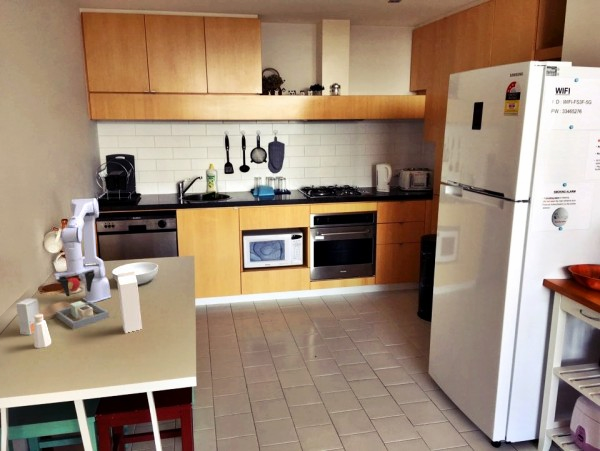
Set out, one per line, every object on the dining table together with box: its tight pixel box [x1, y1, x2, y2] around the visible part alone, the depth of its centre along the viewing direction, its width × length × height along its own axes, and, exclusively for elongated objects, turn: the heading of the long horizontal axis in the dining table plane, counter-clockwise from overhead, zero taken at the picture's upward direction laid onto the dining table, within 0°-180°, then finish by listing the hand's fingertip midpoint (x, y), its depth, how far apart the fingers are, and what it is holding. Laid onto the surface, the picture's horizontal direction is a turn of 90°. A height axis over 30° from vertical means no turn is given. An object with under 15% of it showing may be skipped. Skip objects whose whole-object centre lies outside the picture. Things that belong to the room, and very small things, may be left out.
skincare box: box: [15, 297, 40, 336], centre depth 175 cm, size 6×4×12 cm
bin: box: [56, 301, 110, 330], centre depth 187 cm, size 14×17×2 cm
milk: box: [116, 271, 143, 334], centre depth 173 cm, size 6×6×22 cm
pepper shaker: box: [33, 314, 52, 349], centre depth 164 cm, size 5×5×11 cm
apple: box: [67, 277, 85, 294], centre depth 216 cm, size 8×8×6 cm
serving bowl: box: [111, 261, 159, 286], centre depth 227 cm, size 21×21×7 cm
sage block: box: [69, 300, 86, 319], centre depth 189 cm, size 4×4×5 cm
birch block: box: [77, 305, 94, 320], centre depth 184 cm, size 4×4×5 cm
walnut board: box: [39, 300, 71, 321], centre depth 193 cm, size 14×12×1 cm
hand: (78, 293), depth 181 cm, fingers open, 7 cm apart
